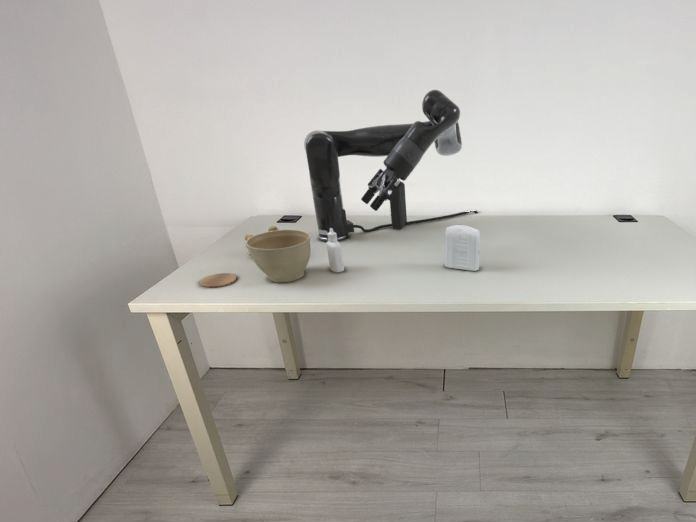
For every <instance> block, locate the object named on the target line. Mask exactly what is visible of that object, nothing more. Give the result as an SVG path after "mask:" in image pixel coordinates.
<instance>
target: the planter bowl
mask: <svg viewBox="0 0 696 522" xmlns="http://www.w3.org/2000/svg"><path fill="white" fill-rule="evenodd" d="M245 243H246V244H245V245H247V247H248V248H247V247H246V248H247V250H248V252H250V255H251V256H250V257H251V259H252V261H253V263H254V264H255V265H256V267H257V268H258V269H259V270H260V271H261V272H262V273H264V274H265V275H266V276H267V278H268V280H269V281H271V282H274V283H289V282H294V281H297V280H300V279H301V278H302V277H303V276H305V270H306V268H307V266H308V264H309V261H310V257H311V250H312V249H311V235H310V234H309V233H308V232H306V231H304V230H300V229H299V230H297V229H279V230H276V231H270V232H268V231H266V232H261V233H258V234H254V235H253V237H251V238H249V239H248V240H247V241H246V240H245Z"/></svg>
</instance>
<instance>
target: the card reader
mask: <svg viewBox="0 0 696 522" xmlns="http://www.w3.org/2000/svg"><path fill="white" fill-rule="evenodd" d="M401 182H402V185H401V186H400V187H399V189H398V190H397V191H396V193H395V194H394V196H393V197H392V198H391V200H389V207H390V208H389V209H390V221H391V223H390V224H392V229H393V230H402V229H403V228H404V226H406V225H405V222H408V218H407V203H406V202H407V201H406V187H405V186H406V184H405V182H404V181H401Z"/></svg>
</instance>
